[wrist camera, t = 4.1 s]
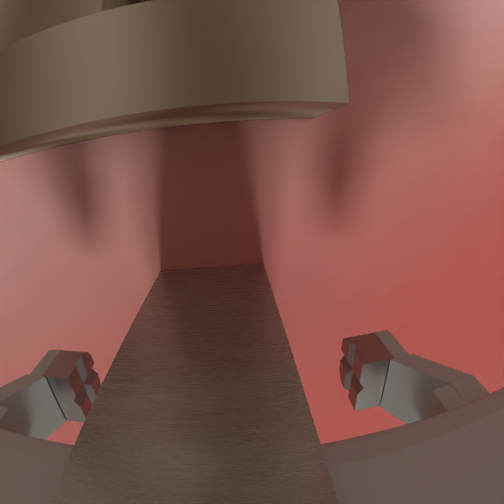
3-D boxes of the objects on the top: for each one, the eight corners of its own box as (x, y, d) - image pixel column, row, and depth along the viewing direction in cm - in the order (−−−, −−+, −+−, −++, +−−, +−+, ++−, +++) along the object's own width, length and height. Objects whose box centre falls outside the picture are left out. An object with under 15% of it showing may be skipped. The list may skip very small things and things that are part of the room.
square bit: (263, 263, 13) (340, 510, 3) (267, 351, 14) (313, 575, 4) (160, 270, 12) (51, 502, 3) (175, 356, 14) (135, 576, 4)
